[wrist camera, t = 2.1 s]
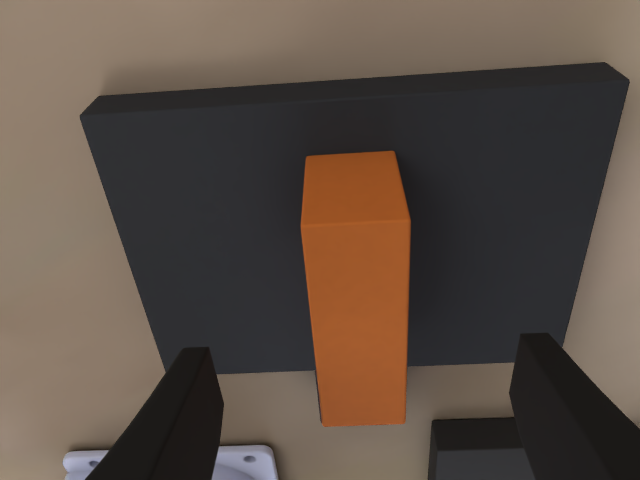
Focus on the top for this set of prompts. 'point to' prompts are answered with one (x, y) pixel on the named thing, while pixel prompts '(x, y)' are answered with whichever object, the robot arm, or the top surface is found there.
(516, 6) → the top surface
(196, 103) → the charcoal pad
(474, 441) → the black pad
